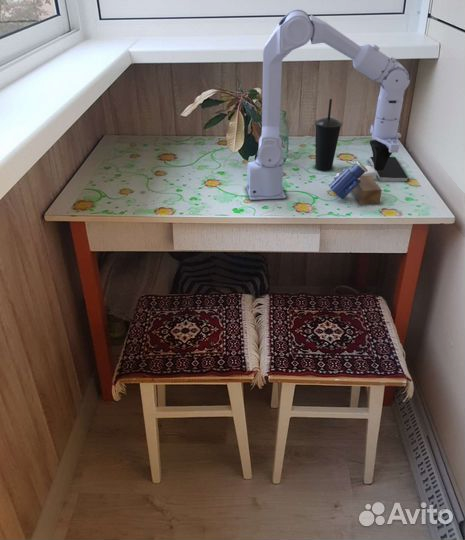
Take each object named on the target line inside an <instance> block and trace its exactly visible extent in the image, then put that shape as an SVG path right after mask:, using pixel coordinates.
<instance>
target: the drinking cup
mask: <svg viewBox="0 0 465 540" xmlns="http://www.w3.org/2000/svg"><path fill="white" fill-rule="evenodd" d="M332 104H333V99H332V98H329V100H328V112H327V116H324V117H321V118H317V119H316V120H315V121H314V125H315V137H314V138H315V139H314V140H315V143H314V144H315V145H314V146H315V150H314V151H315V155H314V157H315V159H314V160H315V161H314V162H315V164H314V165H315V169H316V170H318V171H321V172H328V171H329V172H330V171H331V170H332V169H333V164H334V160H335V155H336V152H337V146H338V141H339V136H340V132H341V127H342V126H343V122H342V121H341V120H339V119H337V118H335V117H332V116H331V114H332Z"/></svg>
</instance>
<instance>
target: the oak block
mask: <svg viewBox="0 0 465 540" xmlns="http://www.w3.org/2000/svg"><path fill="white" fill-rule="evenodd" d="M360 179H361V182H360V183H359V184H358V185H357V186H356V187H355V188H354V189H353V190H352V191H351V192H350V193H352V195H353V196H354V198H355V199H356V201H357V202H358V203H359V205H360V206H362V205H363V206H367V205H380V202H381V197H382V188H381V186H379V184H378V183H377V182H376V181H375V179H373V178H372V177H371V176H361V177H360Z"/></svg>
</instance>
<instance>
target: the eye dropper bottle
mask: <svg viewBox="0 0 465 540" xmlns="http://www.w3.org/2000/svg"><path fill="white" fill-rule="evenodd" d="M363 166H364V167H365V168H366V169H367V170H368V171H367V172H365V173H364V174H363V175H362V176H371V177H372V178H373V180H375V179H376V177H377V175H376V171H375V169H374V168H373V167H372V165H367V164H366V165H365V164H364V165H363ZM348 168H349V169H351V168H352V167H348ZM345 169H346V168H344V169H343V170H342V172H343V171H344V170H345ZM342 172H337V173H336V174H335V176H333V177H332V180H333V181H334V180H335V179H336V178H337V177H338V176H339V175H340V174H341V173H342Z"/></svg>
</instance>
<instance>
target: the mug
mask: <svg viewBox="0 0 465 540" xmlns="http://www.w3.org/2000/svg"><path fill="white" fill-rule="evenodd" d="M364 166H365V165H363V164H362V163H361V162H360V161H359V160H356V161H355V164H354V165H353V166H352V167H348V166H346V167H345V168H344V169H345V170H344V169H343V170H344V171H343V170H342V172H340V173H341V174H340V175H339V176H338V177H337V178H336V179H335V180H334V179H333V180H332V181H331V183H330V184H329V185H328V188H329V189H330V190H331V191H332V192H333V193H334V195H336V196H337V197H338V198H339V199H341V200H345V198H346V197H348V195H349V194H350V193H352V192H351V191H352V190H353V189H354V188H355V187H356V186H357V185H358V184H359V183H360V182H361V179H360V177H361V176H362V175H363V174H364V173H365V172H367V171H368V170H367V169H366V168H365V167H364ZM349 168H351V169H349Z"/></svg>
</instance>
